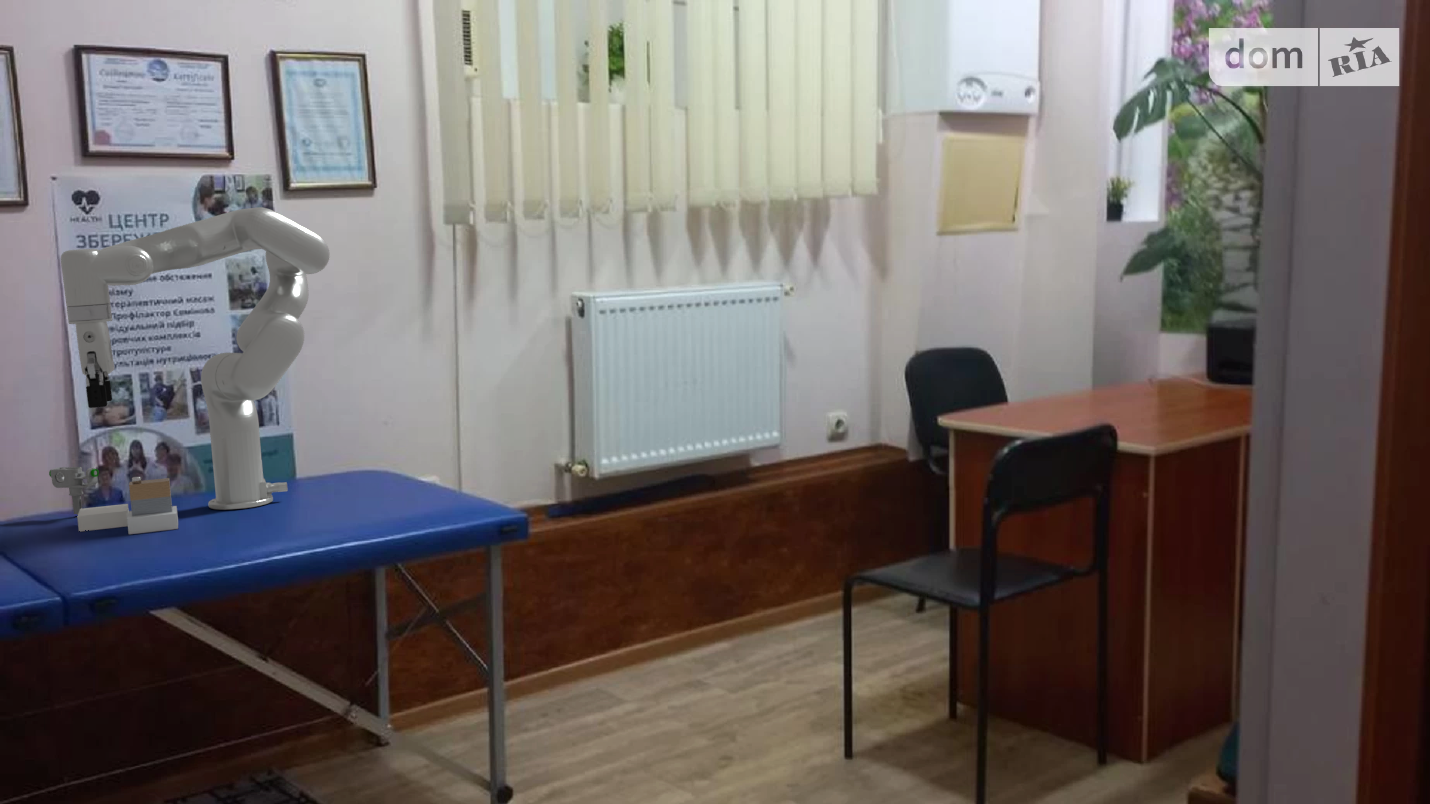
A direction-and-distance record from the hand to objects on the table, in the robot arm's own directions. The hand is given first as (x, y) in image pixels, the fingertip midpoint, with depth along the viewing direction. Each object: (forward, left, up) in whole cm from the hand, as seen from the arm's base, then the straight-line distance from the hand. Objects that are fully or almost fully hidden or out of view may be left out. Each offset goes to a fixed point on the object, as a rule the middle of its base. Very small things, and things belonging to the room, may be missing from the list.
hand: (100, 404), depth 245 cm
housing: (-7, +4, -21) cm, 23 cm away
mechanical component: (+7, -18, -24) cm, 31 cm away
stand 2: (-7, +4, -24) cm, 26 cm away
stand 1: (+2, -5, -24) cm, 25 cm away
